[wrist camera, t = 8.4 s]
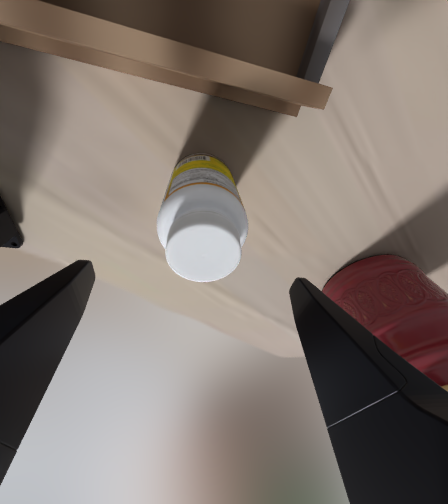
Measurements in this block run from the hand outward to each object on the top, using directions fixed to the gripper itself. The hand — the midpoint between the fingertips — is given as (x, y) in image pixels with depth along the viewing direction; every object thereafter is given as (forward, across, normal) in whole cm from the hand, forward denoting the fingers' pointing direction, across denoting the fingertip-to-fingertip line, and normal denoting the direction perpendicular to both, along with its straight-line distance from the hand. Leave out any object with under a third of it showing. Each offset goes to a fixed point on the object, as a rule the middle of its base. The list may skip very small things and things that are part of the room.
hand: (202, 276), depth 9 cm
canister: (+12, -25, +12) cm, 30 cm away
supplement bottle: (+12, 0, 0) cm, 12 cm away
